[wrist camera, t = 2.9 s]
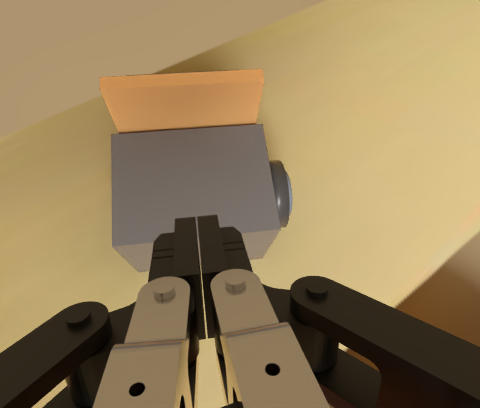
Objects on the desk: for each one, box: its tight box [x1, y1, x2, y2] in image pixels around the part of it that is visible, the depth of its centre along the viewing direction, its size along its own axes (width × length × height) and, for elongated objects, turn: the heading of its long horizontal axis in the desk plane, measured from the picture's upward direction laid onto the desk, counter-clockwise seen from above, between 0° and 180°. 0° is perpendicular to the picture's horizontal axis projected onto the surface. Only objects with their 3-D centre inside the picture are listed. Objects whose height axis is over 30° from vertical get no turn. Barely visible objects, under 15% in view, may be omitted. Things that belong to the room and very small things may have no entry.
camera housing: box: [111, 124, 292, 272], centre depth 32 cm, size 14×9×10 cm, turn 97°
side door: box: [100, 69, 264, 134], centre depth 32 cm, size 11×2×15 cm, turn 97°
